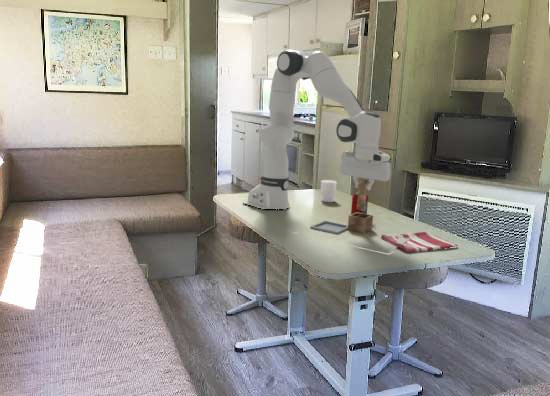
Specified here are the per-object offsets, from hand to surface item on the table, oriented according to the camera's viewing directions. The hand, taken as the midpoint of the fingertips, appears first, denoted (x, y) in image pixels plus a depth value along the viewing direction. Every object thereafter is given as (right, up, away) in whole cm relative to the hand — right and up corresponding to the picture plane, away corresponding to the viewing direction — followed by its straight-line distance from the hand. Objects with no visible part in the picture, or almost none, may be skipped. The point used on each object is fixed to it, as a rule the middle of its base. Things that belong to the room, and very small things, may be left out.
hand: (362, 188), depth 199 cm
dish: (-12, -16, +4) cm, 21 cm away
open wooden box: (-1, -17, +4) cm, 17 cm away
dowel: (-1, -8, +2) cm, 8 cm away
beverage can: (+2, -13, +21) cm, 25 cm away
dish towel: (+19, -22, -9) cm, 30 cm away
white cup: (-8, -5, +56) cm, 56 cm away
